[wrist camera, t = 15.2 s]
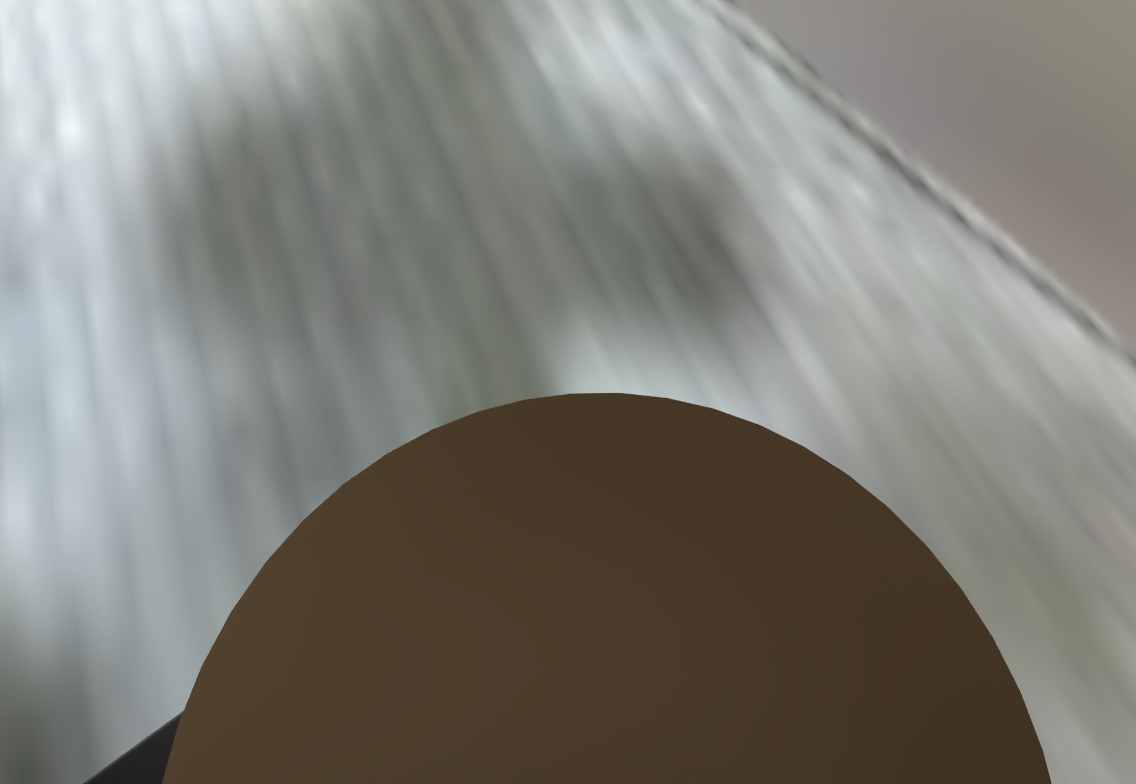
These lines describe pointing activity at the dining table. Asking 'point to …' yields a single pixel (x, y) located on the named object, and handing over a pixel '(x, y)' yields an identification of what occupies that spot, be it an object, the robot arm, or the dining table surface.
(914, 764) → the peg
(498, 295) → the dining table surface
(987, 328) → the dining table surface
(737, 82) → the dining table surface
